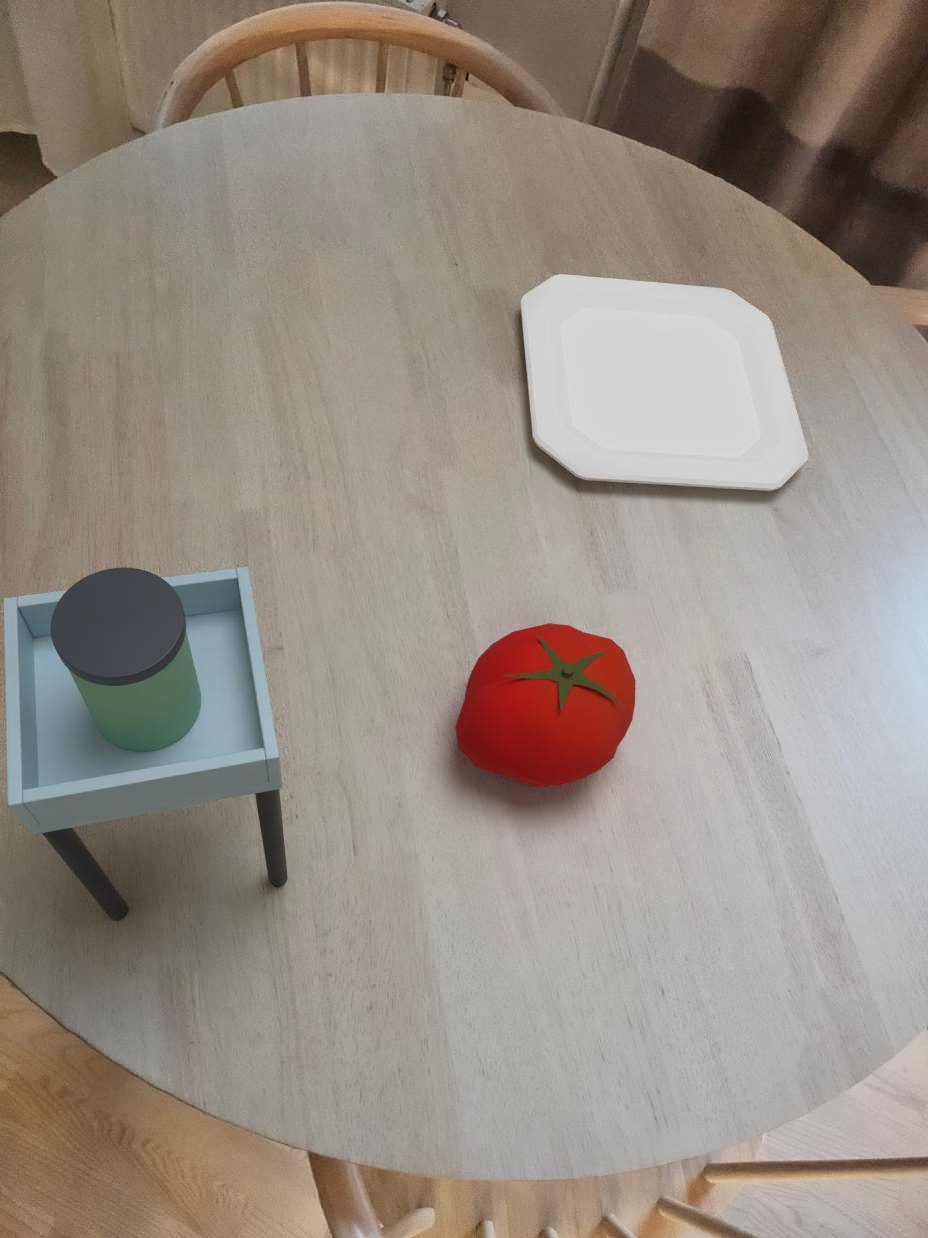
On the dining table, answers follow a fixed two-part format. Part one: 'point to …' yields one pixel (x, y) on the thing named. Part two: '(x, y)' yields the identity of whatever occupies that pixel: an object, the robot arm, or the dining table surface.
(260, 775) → the tray
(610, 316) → the plate
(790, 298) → the dining table surface
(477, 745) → the tomato
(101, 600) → the plastic tub
